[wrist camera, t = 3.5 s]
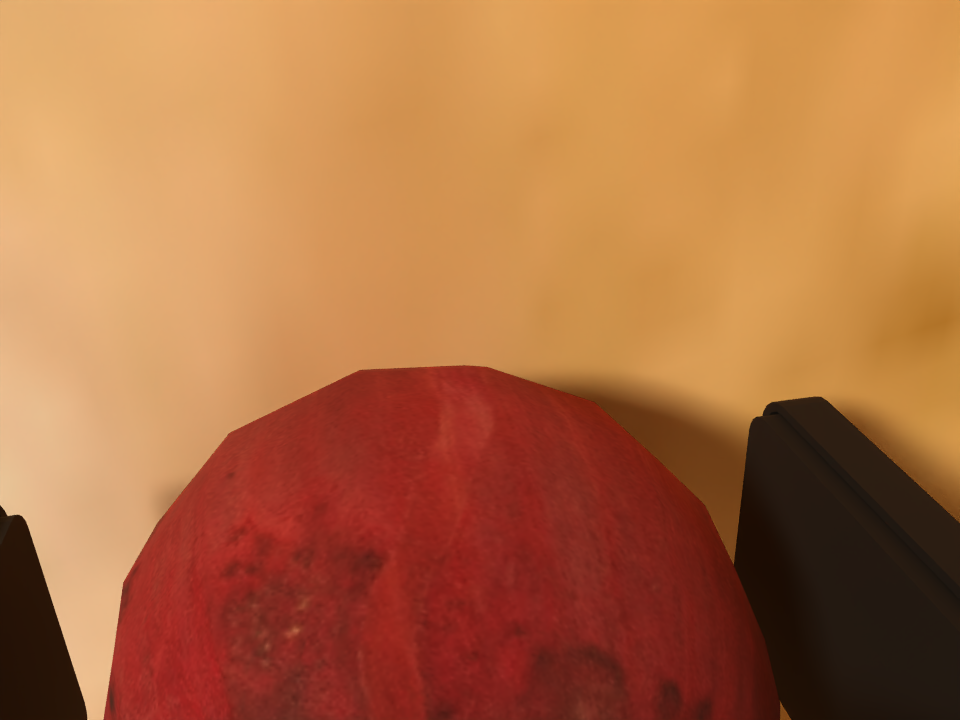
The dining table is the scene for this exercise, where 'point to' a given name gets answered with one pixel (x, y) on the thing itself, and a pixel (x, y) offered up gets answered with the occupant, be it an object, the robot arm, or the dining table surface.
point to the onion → (437, 569)
